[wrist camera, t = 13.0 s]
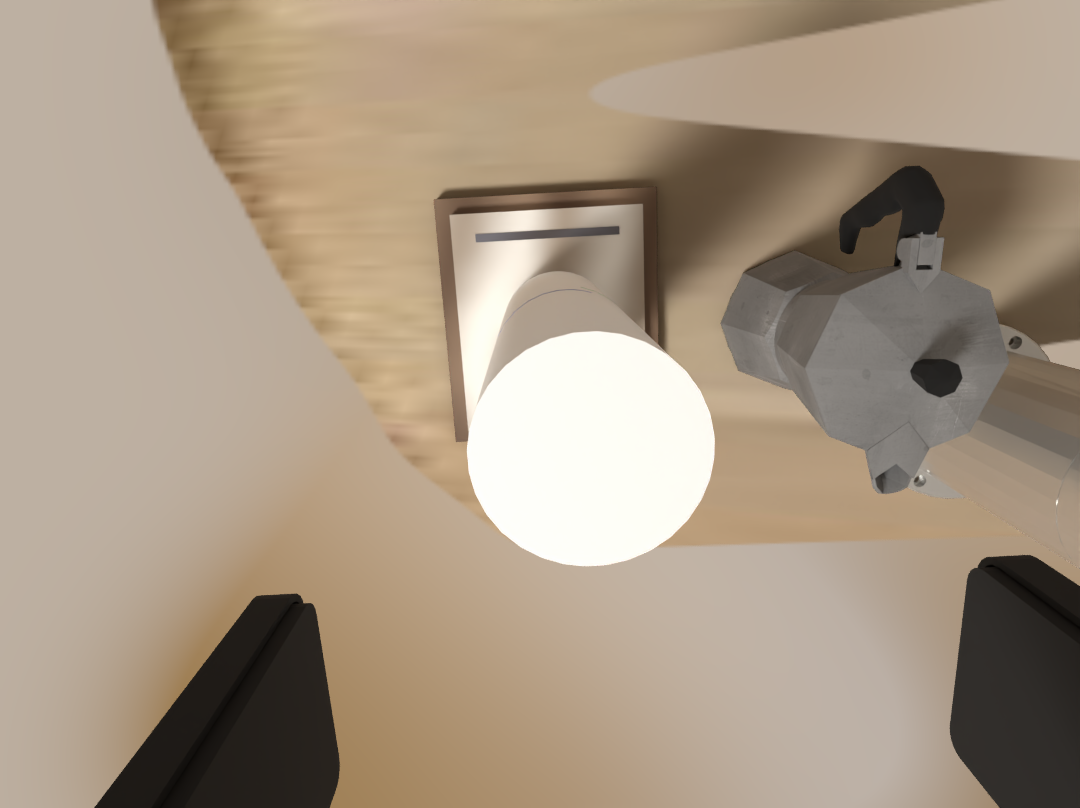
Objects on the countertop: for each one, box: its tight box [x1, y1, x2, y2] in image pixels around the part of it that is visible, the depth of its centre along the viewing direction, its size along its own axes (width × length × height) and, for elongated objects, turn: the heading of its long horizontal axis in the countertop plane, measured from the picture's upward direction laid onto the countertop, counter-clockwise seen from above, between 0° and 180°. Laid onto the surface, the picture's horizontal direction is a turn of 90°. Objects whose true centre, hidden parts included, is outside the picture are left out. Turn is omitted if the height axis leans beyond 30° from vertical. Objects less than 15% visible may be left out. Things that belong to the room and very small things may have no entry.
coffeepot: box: [721, 166, 1009, 494], centre depth 36 cm, size 15×9×18 cm, turn 2°
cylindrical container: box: [467, 271, 714, 566], centre depth 31 cm, size 7×7×25 cm
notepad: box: [434, 187, 658, 442], centre depth 44 cm, size 14×16×2 cm
